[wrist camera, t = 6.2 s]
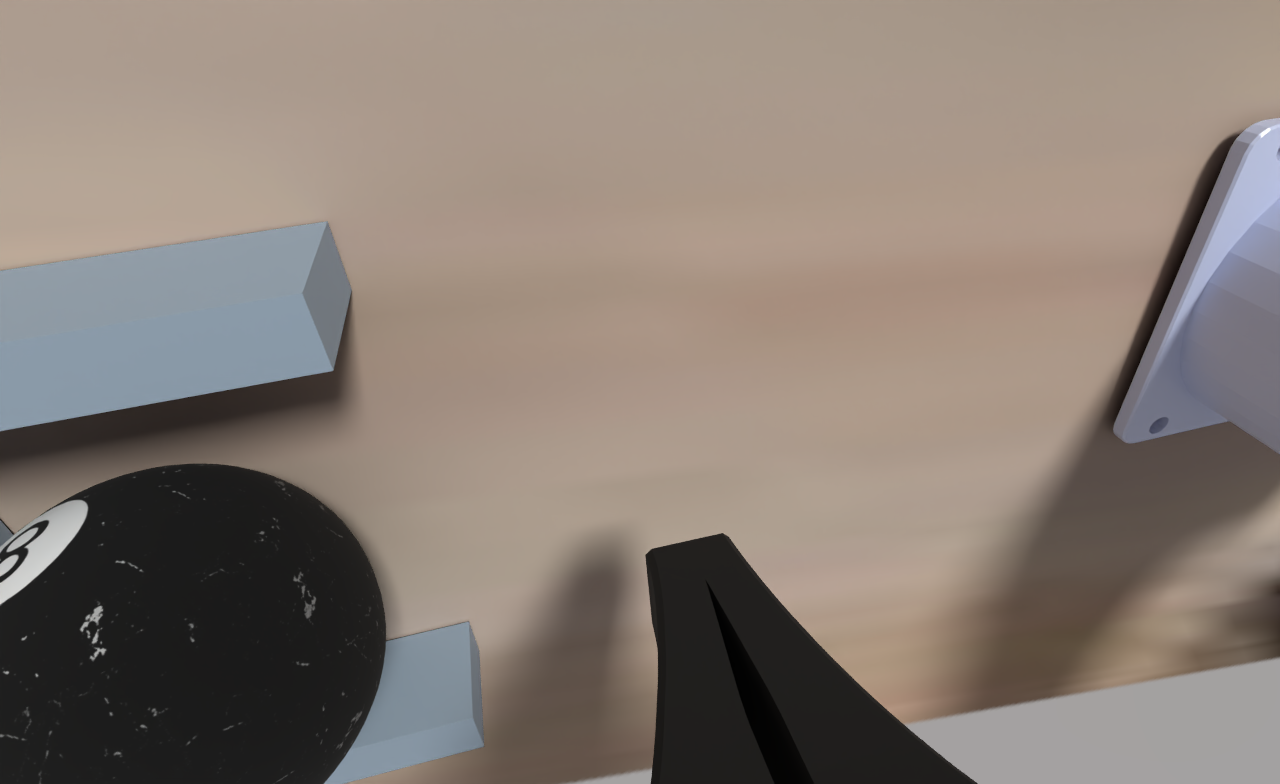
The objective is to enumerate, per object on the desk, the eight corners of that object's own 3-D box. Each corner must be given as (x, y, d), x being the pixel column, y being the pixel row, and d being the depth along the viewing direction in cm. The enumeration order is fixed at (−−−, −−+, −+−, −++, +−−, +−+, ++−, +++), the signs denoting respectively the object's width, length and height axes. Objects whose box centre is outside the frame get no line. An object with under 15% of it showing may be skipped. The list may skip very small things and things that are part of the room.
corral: (326, 221, 11) (302, 293, 9) (479, 650, 18) (484, 746, 16) (-291, 314, 10) (-480, 421, 8) (124, 737, 16) (81, 852, 14)
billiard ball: (213, 659, 16) (114, 991, 11) (-48, 497, 12) (-367, 887, 7) (447, 543, 15) (451, 834, 11) (249, 341, 12) (119, 643, 7)
